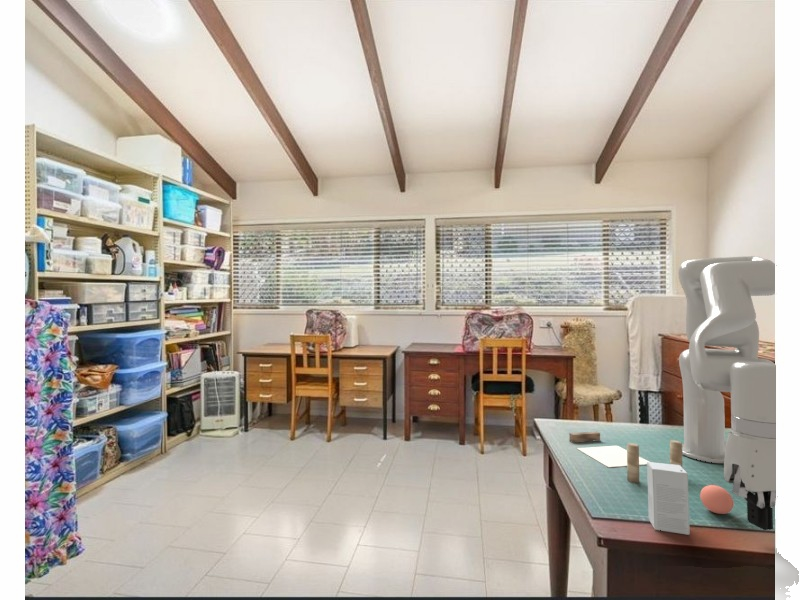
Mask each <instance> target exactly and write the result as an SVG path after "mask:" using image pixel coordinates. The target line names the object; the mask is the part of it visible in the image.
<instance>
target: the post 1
mask: <svg viewBox="0 0 800 600" xmlns="http://www.w3.org/2000/svg"><path fill="white" fill-rule="evenodd" d="M626 450H627V466H626V470H627V472H626V473H627V474H626V476H627V477H626V478H627V479H626V480H627V481H628V482H630V483H633V484H639V483H640V465H639V457H640V446H639V445H638V444H636V443H632V442H628V443H626Z"/></svg>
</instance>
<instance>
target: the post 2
mask: <svg viewBox="0 0 800 600" xmlns="http://www.w3.org/2000/svg"><path fill="white" fill-rule="evenodd" d="M682 444H683V443H682V441H679V440H674V439H671V440H669V464H673V465H680V466H681V467H682V468H683V469H684V467H683V454H682Z"/></svg>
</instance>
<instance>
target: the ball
mask: <svg viewBox="0 0 800 600" xmlns="http://www.w3.org/2000/svg"><path fill="white" fill-rule="evenodd" d="M699 493H700V494H699V497H700V501H701V503H702V504H703V505H704V507H705V508H706V509H707V510H709V511H710V512H712V513H715V514H719V515H724V514H725V515H726V514H728V513H730V512H731V511H733V508H734V504H735V502H734V500H733V497H732V495H731V494H730V493H729V491H728V490H726V489H725V488H723V487H721V486H719V485H714V484H709V485H708V484H707V485H706V486H704V487H702V489H701V490H700V492H699Z"/></svg>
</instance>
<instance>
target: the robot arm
mask: <svg viewBox="0 0 800 600" xmlns="http://www.w3.org/2000/svg"><path fill="white" fill-rule="evenodd" d="M775 264H776V263H775V262H773V261H772V260H770V259H768V258H764V257H760V256H755V255H754V256H752V255H751V256H731V257H730V256H729V257H706V258H705V257H704V258H703V257H702V258H694V259H688V260H686V261H684V262H681V264H680V265H679V267H678V274H677V275H678V280H679V283H680V284H679V285H680V286H681V288H682V290H683V292H684V295H685V298H686V299H685V300H686V315H685V316H686V318H685V320H686V321H685V333H686V339H687V340H688V342H689V345H688V349H684V350H683V351H681V353H680V354H679V357H678V363H679V364H678V365H679V369H680V370H679V371H680V375H681V381H682V393H683V394H682V395H683V443H682V456H685V457H687V458H690V459H693V460H696V459H697V460H698V461H700V460H701V461H700V462H705V461H706V463H711V462H712V463H713V464H723V477H724V480H725V482H727V483H729V484H732V490H731V493H732V494H733V495H736V496H738V497H740V498H743V500H744V502H746V507H747V508H746V515H747V518H746V519H747V522H749V524H751V525H754V526H756V527H758V528H760V529H761V530H763V531H768V530H773V529H774V517H773V516H774V515H773V508H774V507H775V506H776V500H777V498H776V365H777V364H776V363H774V362H773V361H772V360H770V359H767V358H759V346H760V331H759V329H760V328H759V325H758V321H756V319H757V313H756V310H755V306H754V303H753V299H752V297H757V296H758V297H759V296H762V297H764V296H765V297H766V296H767V297H768V296H773V295H776V294H775ZM705 347H717V348H705ZM718 347H721V348H722V347H723V348H724V347H725V348H734V349H718ZM721 392H722V393H730V420H731V421H730V423H731V424H730V425H731V428H730V429H731V431H729V432H728V434H727V437H726V433H725V432H726V427H725V426H726V425H725V423H726V421H725V419H726V418H725V416H726V415H725V398H724V395H723V394H722V393H721ZM712 463H711V464H712Z"/></svg>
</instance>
